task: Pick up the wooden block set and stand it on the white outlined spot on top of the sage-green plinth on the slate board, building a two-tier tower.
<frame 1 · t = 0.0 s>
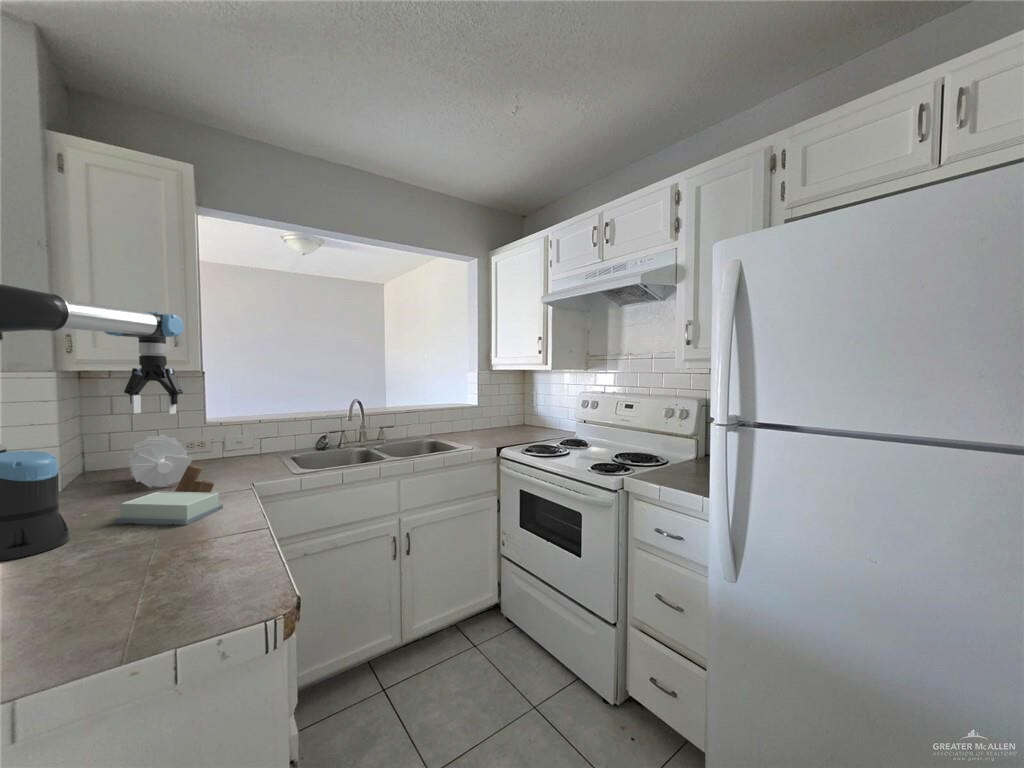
hand: (154, 413, 150), 28 cm above the worktop, tool pointing down, fingers open, 13 cm apart
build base: (172, 515, 124), on the worktop
spiral staircase: (160, 483, 160), on the worktop
wooden block set: (193, 497, 143), on the worktop
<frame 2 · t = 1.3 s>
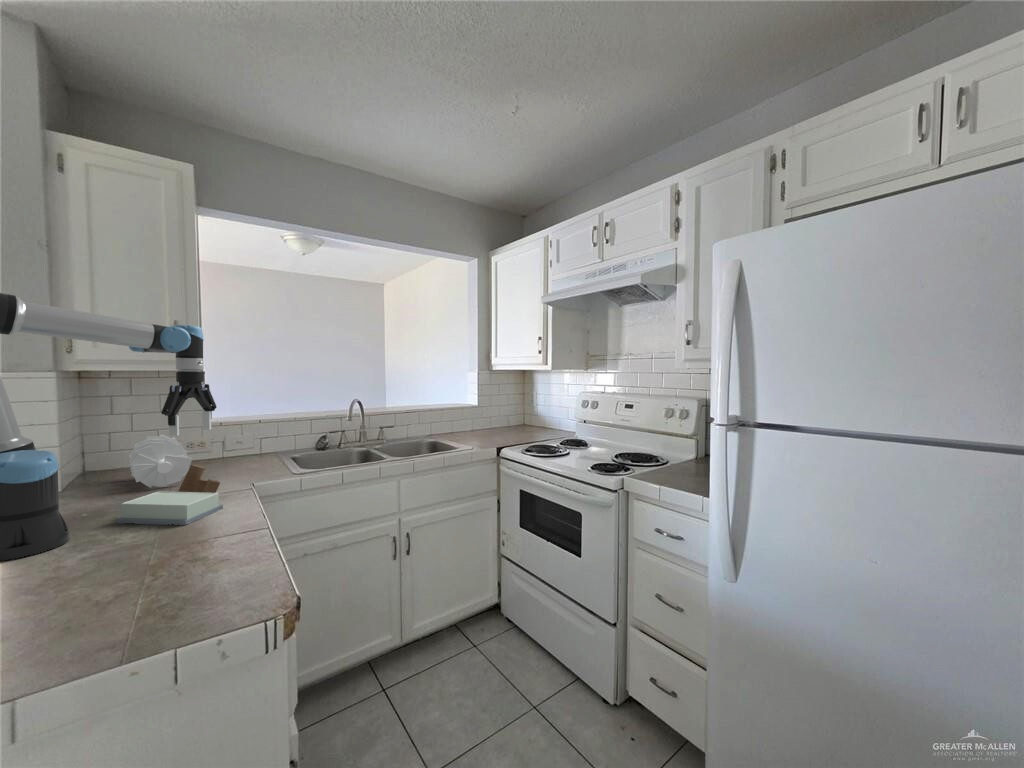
hand: (191, 432, 142), 22 cm above the worktop, tool pointing down, fingers open, 13 cm apart
wooden block set: (197, 496, 144), on the worktop
everything else where it was.
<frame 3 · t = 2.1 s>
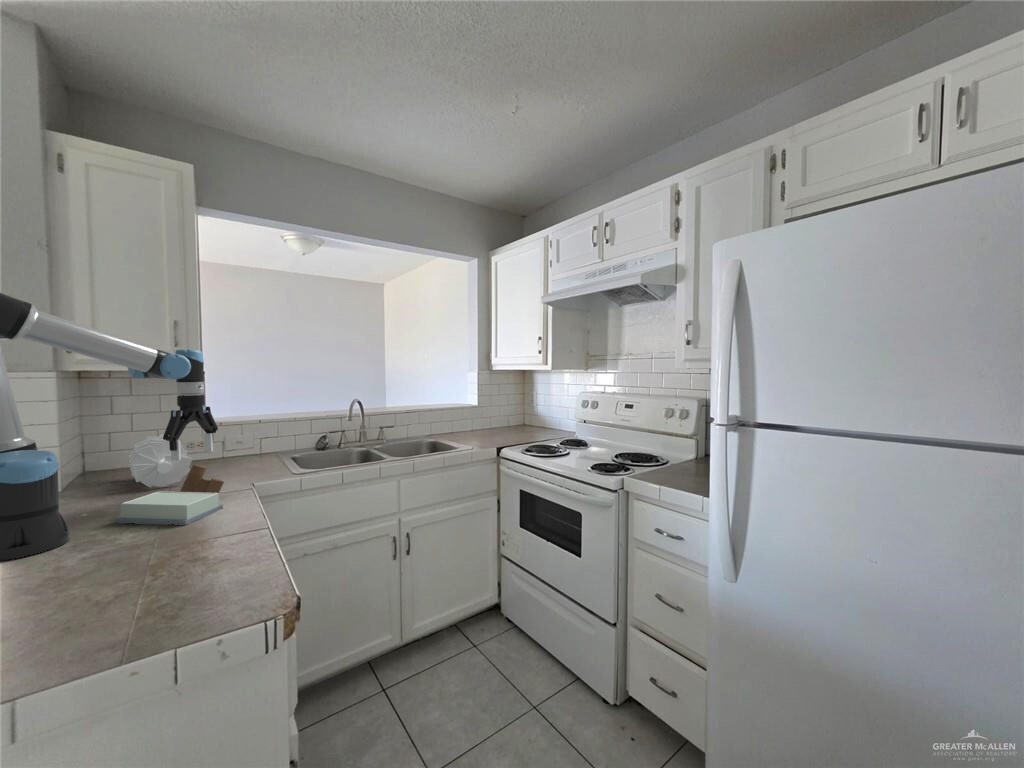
hand: (193, 455, 143), 14 cm above the worktop, tool pointing down, fingers open, 13 cm apart
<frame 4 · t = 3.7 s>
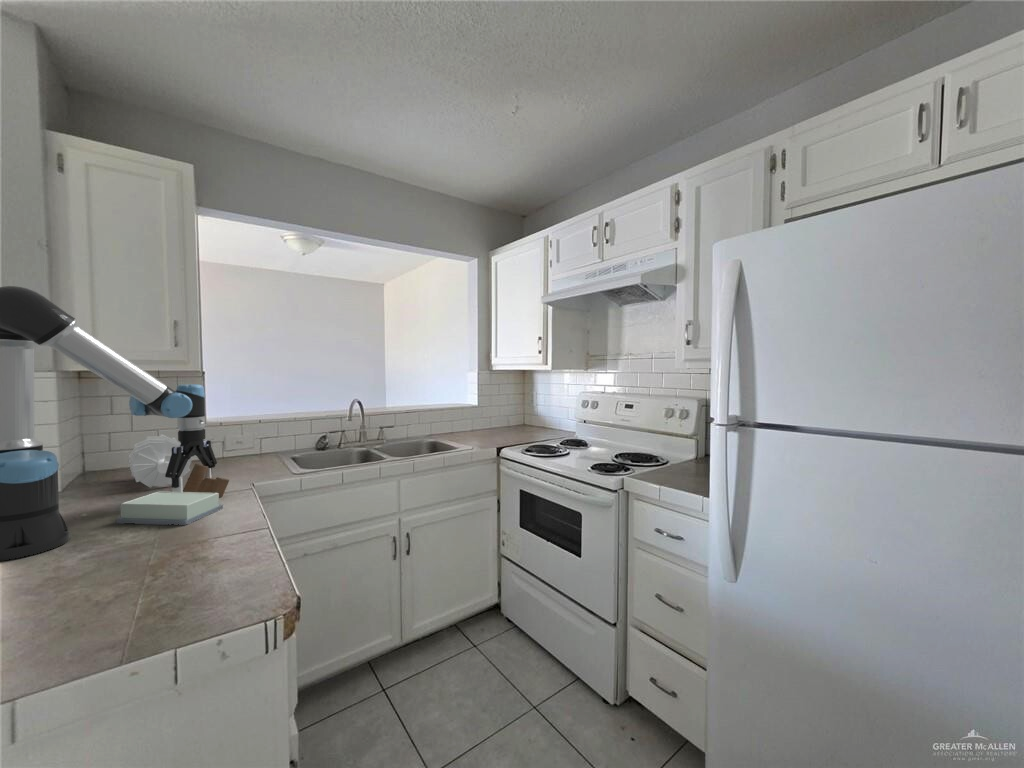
hand: (193, 491, 143), 2 cm above the worktop, tool pointing down, fingers open, 12 cm apart
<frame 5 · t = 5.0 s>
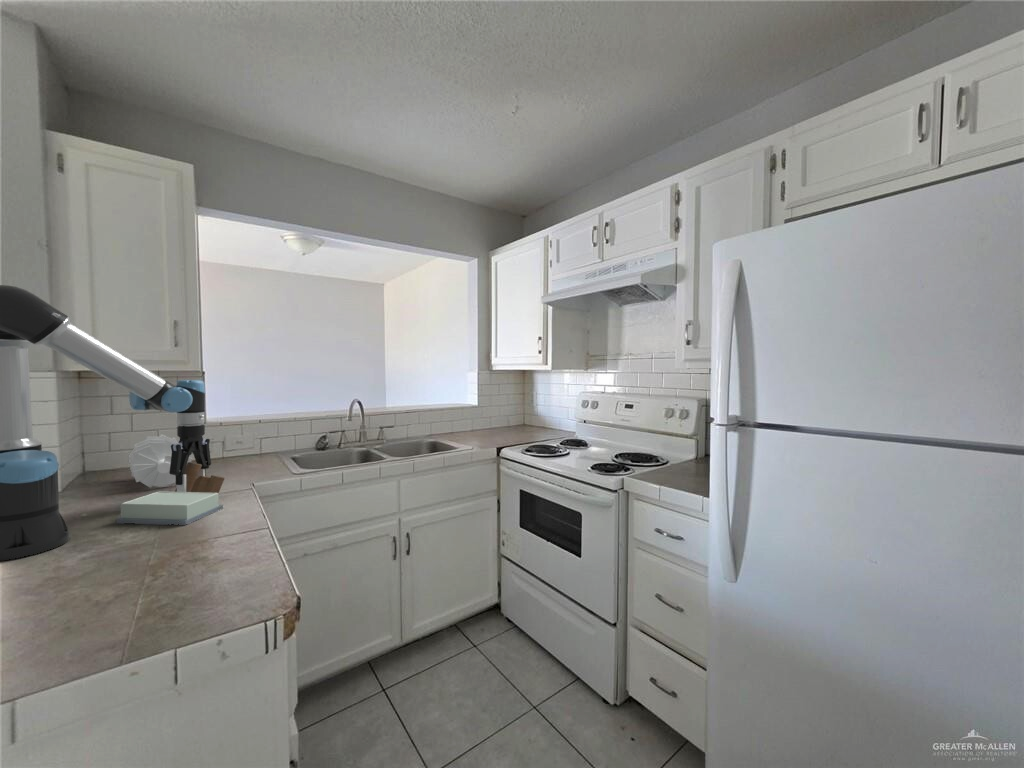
hand: (191, 490, 142), 2 cm above the worktop, tool pointing down, fingers closed on wooden block set, 7 cm apart
wooden block set: (196, 494, 143), point 1 cm above the worktop, touching gripper
everything else where it was.
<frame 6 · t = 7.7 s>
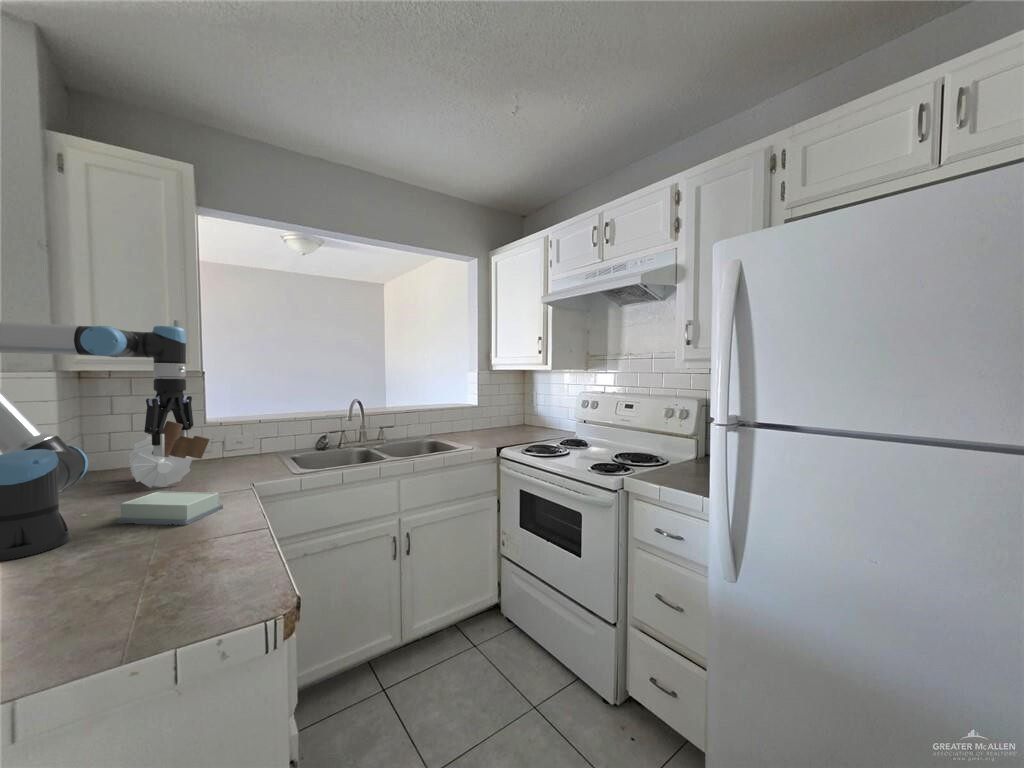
hand: (170, 453, 124), 19 cm above the worktop, tool pointing down, fingers closed on wooden block set, 7 cm apart
wooden block set: (176, 457, 125), point 18 cm above the worktop, touching gripper
everything else where it was.
when the fingers open (8 cm above the worktop, at t = 10.7 s): wooden block set drops 2 cm, resting on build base.
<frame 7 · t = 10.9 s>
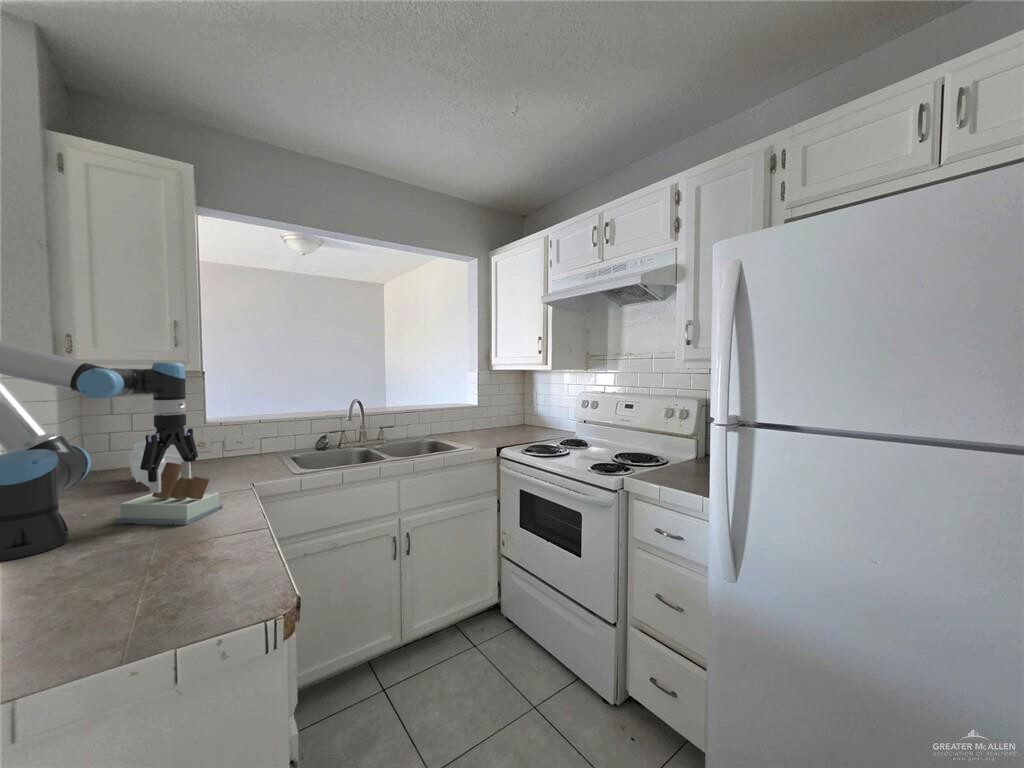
hand: (171, 487, 124), 9 cm above the worktop, tool pointing down, fingers open, 10 cm apart
wooden block set: (177, 498, 125), point 5 cm above the worktop, touching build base
everything else where it was.
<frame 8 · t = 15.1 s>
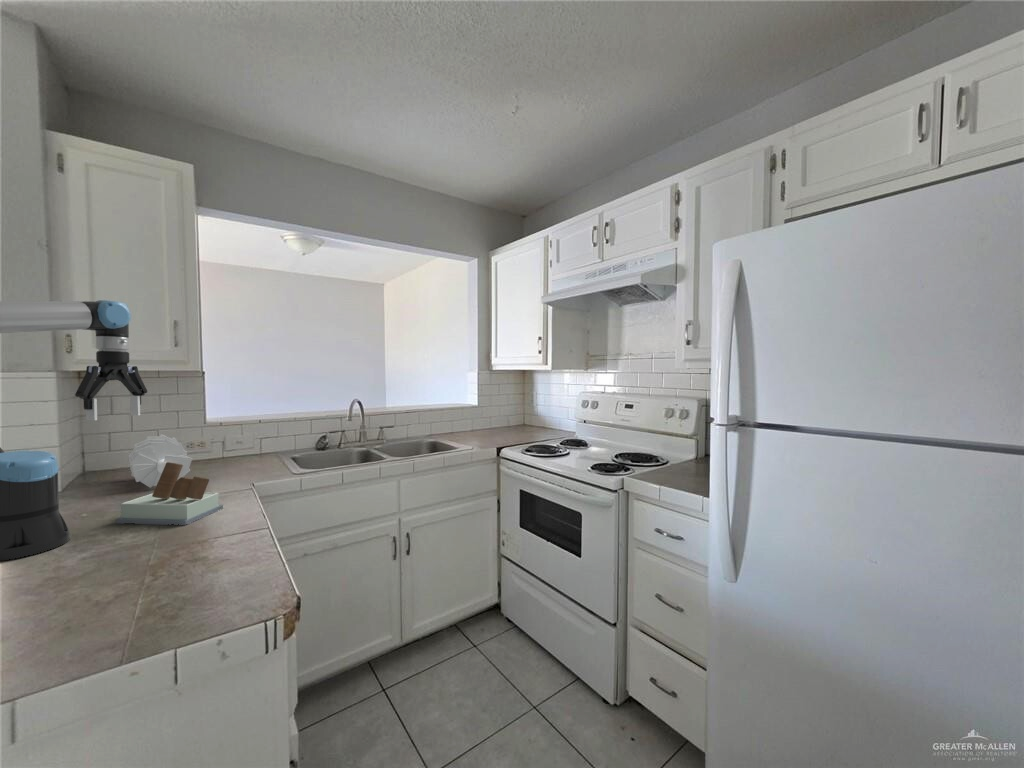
hand: (114, 417, 131), 29 cm above the worktop, tool pointing down, fingers open, 13 cm apart
nothing on the worktop moved.
at the end: wooden block set 1.4 cm off-centre on the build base, point 5.2 cm above the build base's base; wooden block set tilted 2°; the gripper is holding nothing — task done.
